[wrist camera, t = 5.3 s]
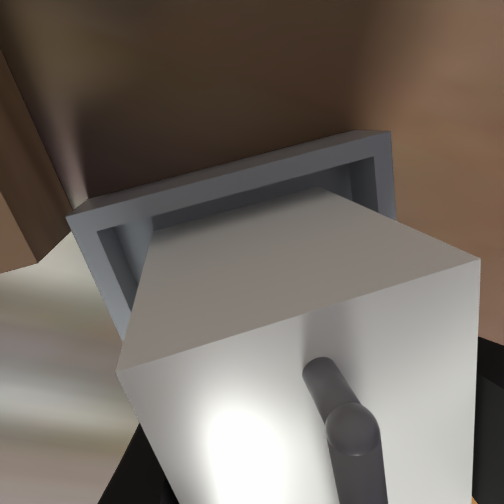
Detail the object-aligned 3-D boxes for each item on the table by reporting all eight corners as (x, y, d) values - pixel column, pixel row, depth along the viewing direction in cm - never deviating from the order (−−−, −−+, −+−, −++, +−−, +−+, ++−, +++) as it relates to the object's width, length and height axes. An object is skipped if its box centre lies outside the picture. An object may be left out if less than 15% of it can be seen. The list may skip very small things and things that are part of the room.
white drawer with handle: (318, 185, 10) (585, 305, 3) (345, 366, 13) (526, 632, 6) (153, 231, 10) (88, 473, 3) (217, 408, 12) (259, 749, 6)
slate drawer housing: (353, 129, 10) (390, 130, 8) (379, 379, 14) (409, 418, 12) (87, 199, 10) (65, 216, 8) (191, 443, 13) (192, 494, 11)
